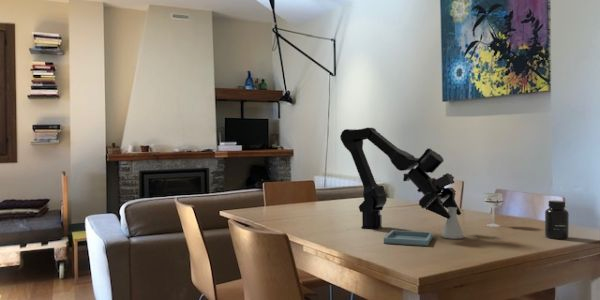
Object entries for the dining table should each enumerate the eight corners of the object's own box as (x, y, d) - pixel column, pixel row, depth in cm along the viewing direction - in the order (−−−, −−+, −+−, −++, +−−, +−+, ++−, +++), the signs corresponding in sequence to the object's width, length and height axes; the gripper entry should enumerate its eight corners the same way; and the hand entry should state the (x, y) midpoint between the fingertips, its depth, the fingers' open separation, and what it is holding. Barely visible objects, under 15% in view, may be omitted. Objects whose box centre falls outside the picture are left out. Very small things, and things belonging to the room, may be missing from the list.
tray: (383, 243, 149) (383, 237, 149) (391, 235, 162) (391, 230, 162) (427, 246, 144) (427, 240, 144) (432, 237, 157) (432, 232, 157)
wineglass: (499, 224, 181) (499, 192, 180) (505, 227, 174) (505, 194, 174) (481, 224, 181) (481, 193, 181) (486, 227, 174) (486, 194, 174)
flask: (465, 239, 153) (465, 209, 153) (442, 239, 154) (441, 209, 154) (462, 235, 160) (462, 206, 160) (440, 235, 162) (440, 206, 161)
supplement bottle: (560, 240, 149) (559, 203, 149) (540, 237, 155) (540, 200, 155) (573, 238, 152) (573, 201, 152) (553, 234, 158) (553, 199, 158)
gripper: (427, 167, 153) (461, 203, 146) (449, 164, 167) (481, 197, 160) (405, 190, 158) (437, 226, 151) (429, 185, 172) (459, 218, 165)
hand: (455, 216), depth 157 cm, fingers open, 9 cm apart
